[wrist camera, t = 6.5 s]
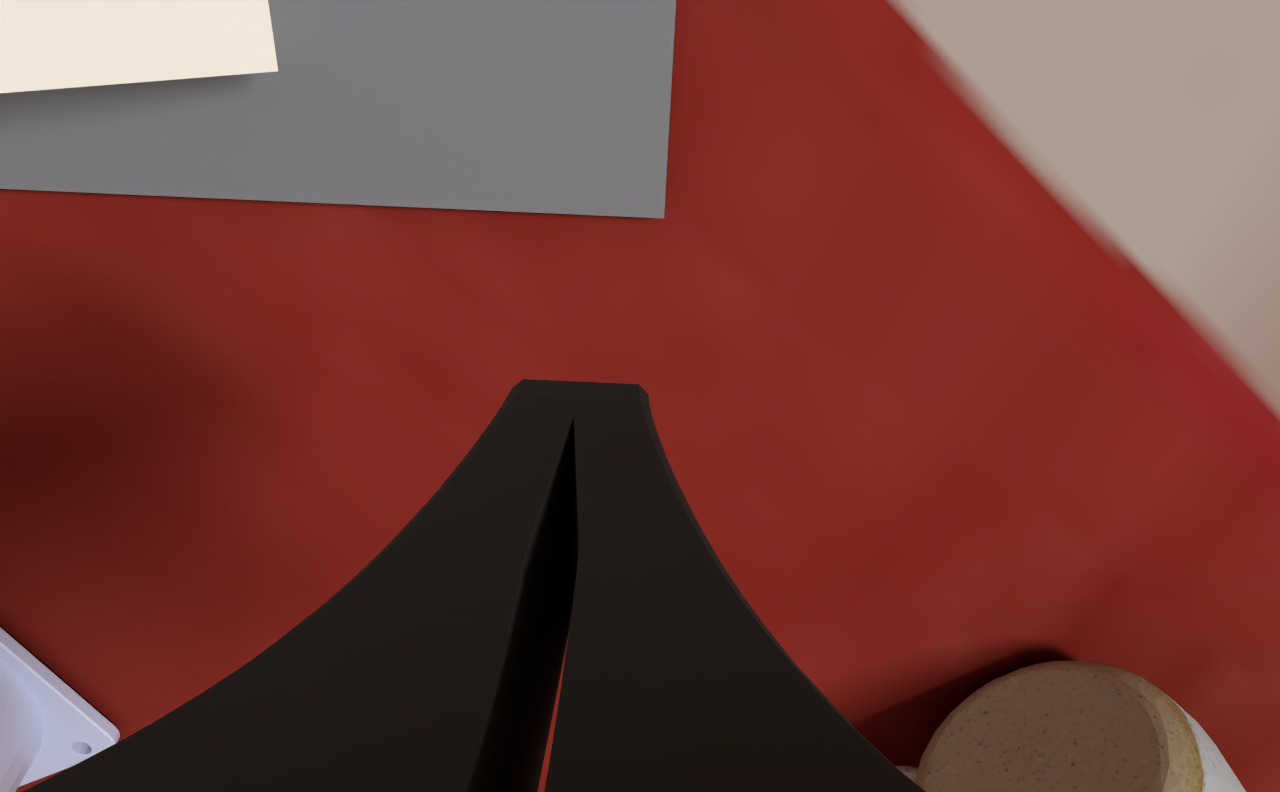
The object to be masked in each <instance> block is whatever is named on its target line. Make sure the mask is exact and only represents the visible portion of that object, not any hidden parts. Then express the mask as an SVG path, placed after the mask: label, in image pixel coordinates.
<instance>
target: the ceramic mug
mask: <svg viewBox="0 0 1280 792" xmlns="http://www.w3.org/2000/svg"><path fill="white" fill-rule="evenodd" d="M895 767H896V768H897V769H899V770H900V771H901V772H902V773H903V774H905V775H906V776H907V777H908V778H910V779H911V780H912V781H913V782H915V783H916V784H917V785H918V786H920V787H921V788H922V789H923V790H924V791H926V792H1246V791H1245V790H1244V788H1243V786H1242V785H1241V783H1240V782H1239V780H1238V779H1237V777H1236V776H1235V774H1234V773H1233V771H1232V770H1231V768H1230V767H1229V765H1228V764H1227V762H1226V760H1225V759H1224V757H1223V756H1222V754H1221V753H1220V751H1219V750H1218V748H1217V747H1216V745H1215V744H1214V742H1213V741H1212V740H1211V739H1210V737H1209V736H1208V735H1207V734H1206V732H1205V731H1204V730H1203V729H1202V727H1201V726H1200V725H1199V724H1198V723H1197V722H1196V721H1195V720H1194V719H1193V718H1192V717H1191V716H1190V715H1189V714H1188V713H1187V712H1186V711H1185V710H1183V709H1182V708H1181V707H1180V706H1179V705H1178V704H1177V703H1176V702H1174V701H1173V700H1172V699H1171V698H1170V697H1169V696H1167V695H1166V694H1165V693H1164V692H1163V691H1161V690H1160V689H1159V688H1157V687H1156V686H1154V685H1153V684H1151V683H1150V682H1148V681H1146V680H1145V679H1143V678H1142V677H1140V676H1137V675H1135V674H1133V673H1130V672H1128V671H1125V670H1123V669H1121V668H1118V667H1116V666H1112V665H1108V664H1103V663H1098V662H1094V661H1051V662H1045V663H1039V664H1035V665H1031V666H1028V667H1024V668H1021V669H1018V670H1016V671H1013V672H1011V673H1009V674H1006V675H1004V676H1001V677H999V678H997V679H994V680H992V681H990V682H989V683H987V684H986V685H984V686H983V687H981V688H980V689H978V690H977V691H975V692H974V693H972V694H971V695H970V696H969V697H968V698H966V699H965V700H964V701H963V702H962V703H960V704H959V705H958V706H957V707H956V708H955V709H954V710H953V711H952V712H951V713H950V714H949V715H948V716H947V717H946V719H945V720H944V721H943V722H942V723H941V725H940V726H939V727H938V728H937V730H936V731H935V733H934V735H933V737H932V738H931V740H930V742H929V744H928V746H927V747H926V749H925V751H924V753H923V755H922V757H921V760H920V764H919V768H915V767H910V766H895Z"/></svg>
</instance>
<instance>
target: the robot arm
mask: <svg viewBox="0 0 1280 792" xmlns="http://www.w3.org/2000/svg"><path fill="white" fill-rule="evenodd" d="M568 633H569V635H568ZM567 638H568V643H567ZM566 643H567V650H566V657H565V664H564V671H563V679H562V686H561V692H560V699H559V705H558V712H557V718H556V724H555V731H554V737H553V744H552V750H551V757H550V763H549V768H548V774H547V780H546V785H545V791H544V792H926V791H924V790H923V789H922V788H921V787H920V786H918V785H917V784H916V783H915V782H913V781H912V780H911V779H910V778H908V777H907V776H906V775H905V774H903V773H902V772H901V771H900V770H899V769H897V768H896V767H895V766H894V765H893V764H892V763H891V762H890V761H889V760H888V759H887V758H886V757H885V756H884V755H883V754H882V753H881V752H879V751H878V750H877V749H876V748H875V747H874V746H873V745H872V744H871V743H870V742H869V741H868V740H867V739H866V738H865V737H864V736H863V735H861V734H860V733H859V732H858V731H857V730H856V729H855V728H854V727H853V726H852V724H851V723H850V722H849V721H848V720H847V719H846V718H845V717H844V716H843V715H842V714H841V713H840V712H839V710H838V709H837V708H836V707H835V706H834V705H833V704H832V703H831V702H830V701H829V700H828V699H827V698H826V697H825V695H824V694H823V693H822V692H821V691H820V690H819V689H818V688H817V687H816V686H815V685H814V684H813V683H812V681H811V680H810V679H809V678H808V677H807V676H806V675H805V674H804V673H803V672H802V671H801V670H800V669H799V667H798V666H797V665H796V664H795V663H794V662H793V660H792V659H791V658H790V657H789V655H788V654H787V653H786V652H785V650H784V649H783V648H782V647H781V645H780V644H779V643H778V642H777V640H776V639H775V638H774V637H773V636H772V634H771V633H770V632H769V631H768V629H767V628H766V627H765V625H764V624H763V623H762V621H761V620H760V619H759V617H758V616H757V614H756V613H755V612H754V610H753V609H752V608H751V606H750V605H749V604H748V602H747V601H746V599H745V598H744V597H743V595H742V594H741V592H740V591H739V589H738V588H737V586H736V585H735V583H734V582H733V580H732V579H731V577H730V576H729V574H728V573H727V571H726V569H725V568H724V566H723V565H722V563H721V562H720V560H719V558H718V557H717V555H716V553H715V551H714V550H713V548H712V546H711V545H710V543H709V541H708V540H707V538H706V536H705V535H704V533H703V531H702V529H701V527H700V526H699V524H698V522H697V520H696V518H695V516H694V515H693V513H692V511H691V509H690V507H689V505H688V503H687V501H686V498H685V496H684V494H683V492H682V490H681V488H680V486H679V484H678V482H677V480H676V478H675V476H674V474H673V471H672V469H671V467H670V465H669V462H668V460H667V457H666V455H665V452H664V450H663V447H662V444H661V442H660V439H659V437H658V434H657V431H656V427H655V424H654V421H653V417H652V414H651V409H650V405H649V396H648V394H647V393H646V392H645V391H644V389H643V388H642V387H641V386H640V385H639V384H617V383H595V382H572V381H549V380H527V379H523V380H522V381H520V382H519V383H518V384H517V385H516V386H514V387H513V388H512V390H511V391H510V393H509V395H508V396H507V398H506V400H505V401H504V403H503V404H502V406H501V408H500V409H499V411H498V412H497V414H496V415H495V417H494V418H493V420H492V421H491V422H490V424H489V425H488V427H487V428H486V430H485V431H484V432H483V434H482V435H481V436H480V438H479V439H478V441H477V442H476V443H475V445H474V446H473V447H472V449H471V450H470V451H469V453H468V454H467V455H466V456H465V458H464V459H463V460H462V461H461V463H460V464H459V465H458V466H457V468H456V469H455V470H454V471H453V472H452V474H451V475H450V476H449V477H448V479H447V480H446V481H445V482H444V484H443V485H442V486H441V487H440V489H439V490H438V491H437V492H436V493H435V494H434V496H433V497H432V498H431V499H430V500H429V501H428V502H427V504H426V505H425V506H424V507H423V508H422V509H421V510H420V511H419V512H418V513H417V514H416V515H415V516H414V518H413V519H412V520H411V521H410V522H409V523H408V524H407V525H406V526H405V527H404V528H403V529H402V530H401V532H400V533H399V534H398V535H397V536H396V537H395V538H394V539H393V540H392V541H391V542H390V543H389V544H388V545H387V546H386V547H385V548H384V549H383V550H382V551H381V552H380V553H379V554H378V555H377V556H376V557H375V558H374V559H373V560H372V561H371V562H370V563H369V564H368V565H367V566H366V567H365V568H364V569H363V570H362V571H361V572H359V573H358V574H357V575H356V576H355V577H354V578H353V579H352V580H351V581H350V582H348V583H347V584H346V585H345V586H344V587H343V588H342V589H340V590H339V591H338V592H337V593H336V594H335V595H334V596H333V597H331V598H330V599H329V600H328V601H327V602H326V603H324V604H323V605H322V606H321V607H320V608H318V609H317V610H316V611H315V612H313V613H312V614H311V615H310V616H308V617H307V618H306V619H305V620H303V621H302V622H301V623H300V624H298V625H297V626H296V627H294V628H293V629H292V630H291V631H289V632H288V633H287V634H286V635H284V636H283V637H282V638H281V639H279V640H278V641H277V642H275V643H274V644H273V645H271V646H270V647H269V648H267V649H266V650H265V651H263V652H262V653H261V654H259V655H258V656H257V657H255V658H254V659H252V660H251V661H250V662H248V663H247V664H245V665H244V666H243V667H241V668H240V669H238V670H237V671H235V672H234V673H232V674H231V675H229V676H227V677H226V678H224V679H223V680H221V681H220V682H218V683H217V684H215V685H214V686H212V687H211V688H209V689H208V690H206V691H204V692H203V693H201V694H200V695H198V696H197V697H195V698H193V699H192V700H190V701H188V702H187V703H185V704H183V705H182V706H180V707H178V708H177V709H175V710H174V711H172V712H170V713H169V714H167V715H165V716H164V717H162V718H160V719H159V720H157V721H155V722H154V723H152V724H150V725H148V726H147V727H145V728H143V729H141V730H140V731H138V732H136V733H134V734H133V735H131V736H129V737H127V738H125V739H123V740H122V741H120V742H118V740H119V737H120V734H119V731H118V729H117V728H116V727H115V726H114V725H113V724H112V723H111V722H110V721H108V720H107V719H106V718H105V717H104V716H103V715H101V714H100V713H99V712H98V711H97V710H96V709H95V708H93V707H92V706H91V705H90V704H89V703H88V702H86V701H85V700H84V699H83V698H82V697H81V696H79V695H78V694H77V693H76V692H75V691H74V690H72V689H71V688H70V687H69V686H68V685H67V684H66V683H64V682H63V681H62V680H61V679H60V678H59V677H57V676H56V675H55V674H54V673H53V672H52V671H50V670H49V669H48V668H47V667H46V666H45V665H44V664H42V663H41V662H40V661H39V660H38V659H37V658H35V657H34V656H33V655H32V654H31V653H30V652H28V651H27V650H26V649H25V648H24V647H23V646H21V645H20V644H19V643H18V642H17V641H16V640H15V639H13V638H12V637H11V636H10V635H9V634H8V633H6V632H5V631H4V630H3V629H2V628H1V627H0V792H16V790H17V788H18V787H20V786H22V785H25V784H27V783H30V782H33V781H35V780H38V779H40V778H43V777H46V776H48V775H51V774H53V773H56V772H59V771H61V770H64V769H66V768H68V769H66V770H64V771H62V772H61V773H59V774H57V775H55V776H53V777H51V778H49V779H47V780H45V781H43V782H42V783H40V784H38V785H35V786H33V787H31V788H29V789H27V790H25V791H23V792H537V791H538V786H539V780H540V775H541V770H542V765H543V760H544V755H545V750H546V745H547V740H548V735H549V730H550V725H551V720H552V715H553V710H554V705H555V700H556V694H557V689H558V684H559V679H560V674H561V669H562V664H563V659H564V654H565V649H566ZM117 742H118V743H117ZM69 767H70V768H69Z"/></svg>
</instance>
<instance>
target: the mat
mask: <svg viewBox="0 0 1280 792" xmlns="http://www.w3.org/2000/svg"><path fill="white" fill-rule="evenodd" d="M268 3H269V10H270V17H271V24H272V31H273V38H274V45H275V52H276V59H277V66H278V71H277V72H264V73H252V74H239V75H227V76H214V77H201V78H189V79H176V80H163V81H151V82H138V83H125V84H113V85H100V86H88V87H75V88H62V89H50V90H37V91H24V92H12V93H0V189H18V190H40V191H63V192H85V193H107V194H130V195H152V196H175V197H197V198H219V199H242V200H264V201H287V202H309V203H331V204H354V205H376V206H399V207H421V208H443V209H466V210H488V211H510V212H533V213H555V214H578V215H600V216H622V217H645V218H664V209H665V191H666V173H667V155H668V137H669V119H670V100H671V82H672V64H673V46H674V28H675V10H676V0H268Z"/></svg>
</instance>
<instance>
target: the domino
mask: <svg viewBox="0 0 1280 792" xmlns="http://www.w3.org/2000/svg"><path fill="white" fill-rule="evenodd" d="M277 71H278V66H277V59H276V52H275V45H274V38H273V31H272V24H271V17H270V10H269V3H268V0H0V93H12V92H24V91H37V90H50V89H62V88H75V87H88V86H100V85H113V84H125V83H138V82H151V81H163V80H176V79H189V78H201V77H214V76H227V75H239V74H252V73H264V72H277Z"/></svg>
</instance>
